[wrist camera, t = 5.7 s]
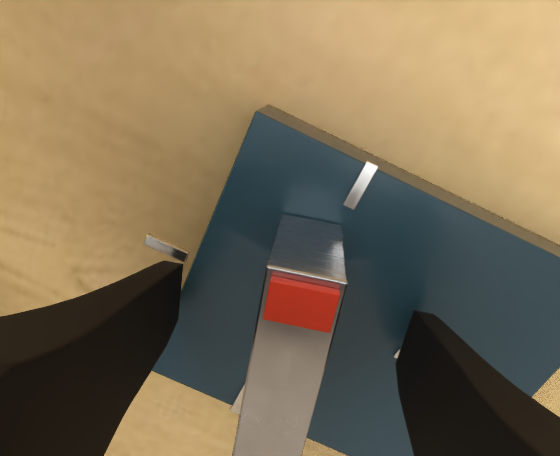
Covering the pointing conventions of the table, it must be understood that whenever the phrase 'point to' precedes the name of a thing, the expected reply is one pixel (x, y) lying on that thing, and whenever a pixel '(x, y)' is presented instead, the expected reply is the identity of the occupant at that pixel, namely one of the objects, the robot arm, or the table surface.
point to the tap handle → (292, 337)
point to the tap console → (361, 280)
